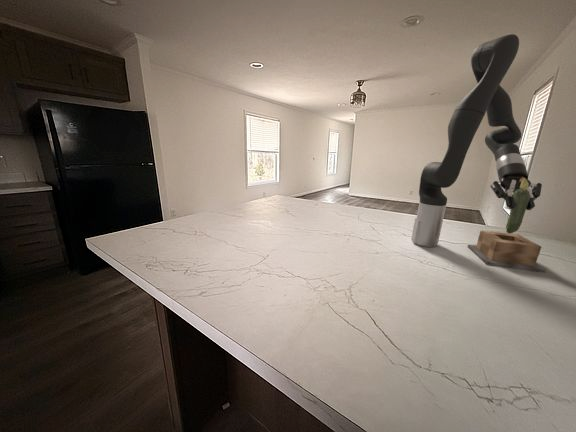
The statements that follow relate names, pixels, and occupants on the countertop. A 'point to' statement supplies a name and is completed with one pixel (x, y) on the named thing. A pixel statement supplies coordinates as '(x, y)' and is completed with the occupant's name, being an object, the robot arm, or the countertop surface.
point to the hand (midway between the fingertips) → (521, 208)
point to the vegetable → (518, 207)
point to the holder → (507, 251)
